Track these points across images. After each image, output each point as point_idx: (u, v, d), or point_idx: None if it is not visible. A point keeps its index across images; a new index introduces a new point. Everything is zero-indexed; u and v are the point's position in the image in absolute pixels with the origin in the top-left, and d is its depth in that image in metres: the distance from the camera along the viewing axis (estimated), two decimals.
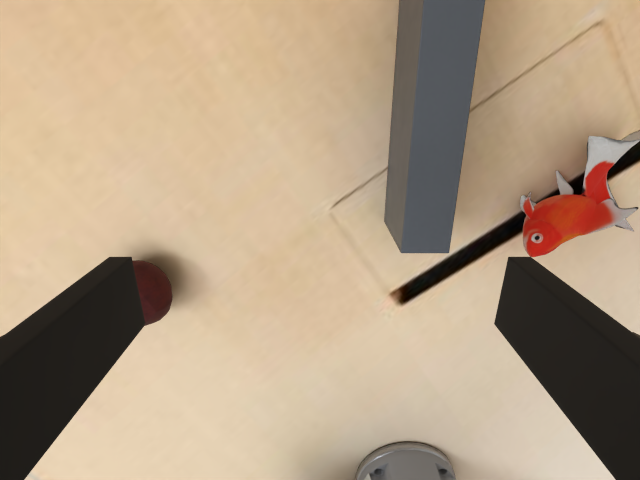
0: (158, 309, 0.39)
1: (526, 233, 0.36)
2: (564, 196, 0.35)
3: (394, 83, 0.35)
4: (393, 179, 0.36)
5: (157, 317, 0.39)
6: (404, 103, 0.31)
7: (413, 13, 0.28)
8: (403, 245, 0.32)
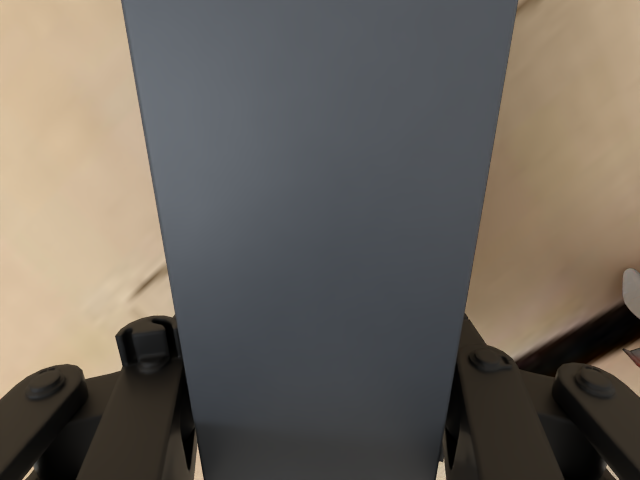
0: None
1: None
2: None
3: None
4: None
5: None
6: None
7: None
8: None
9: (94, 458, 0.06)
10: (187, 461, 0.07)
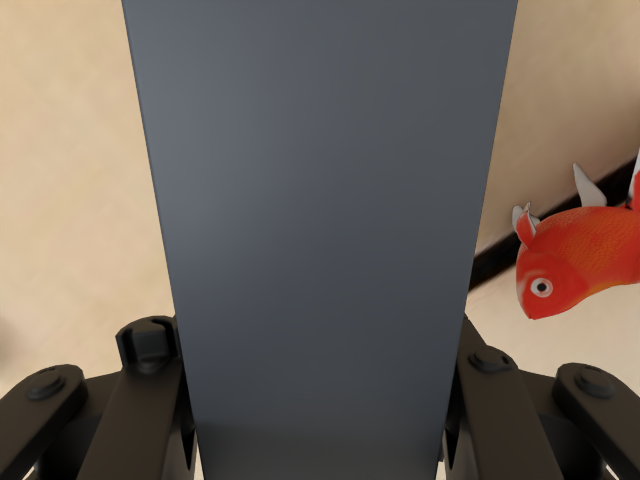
0: None
1: (521, 277, 0.20)
2: (592, 210, 0.19)
3: None
4: None
5: None
6: None
7: None
8: None
9: (94, 458, 0.06)
10: (187, 461, 0.07)
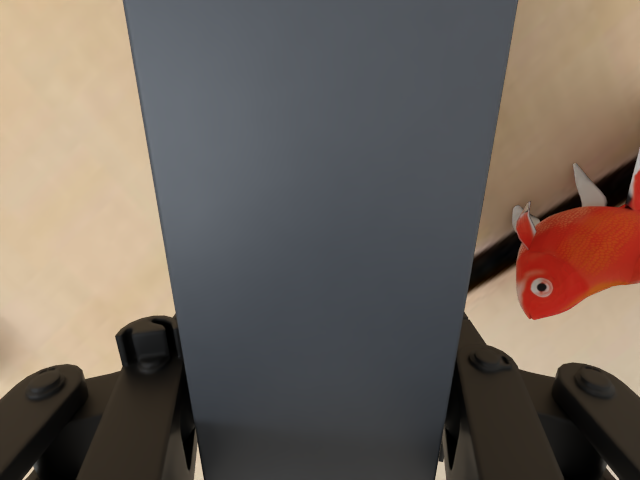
0: None
1: (521, 277, 0.20)
2: (592, 210, 0.19)
3: None
4: None
5: None
6: None
7: None
8: None
9: (94, 458, 0.06)
10: (187, 461, 0.07)
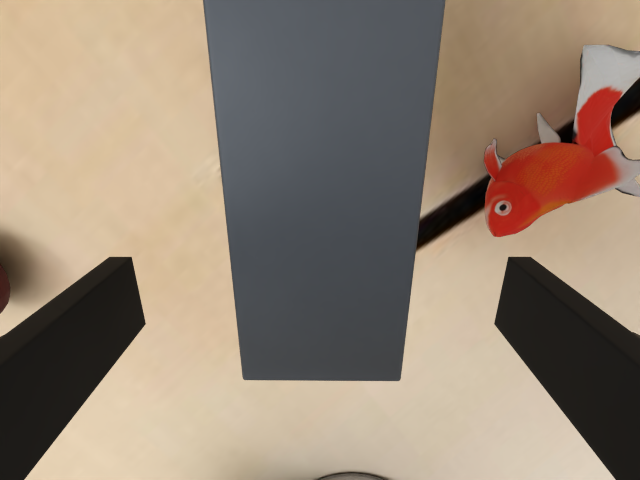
0: None
1: (488, 202, 0.24)
2: (545, 145, 0.23)
3: None
4: None
5: None
6: None
7: None
8: (246, 359, 0.10)
9: None
10: None
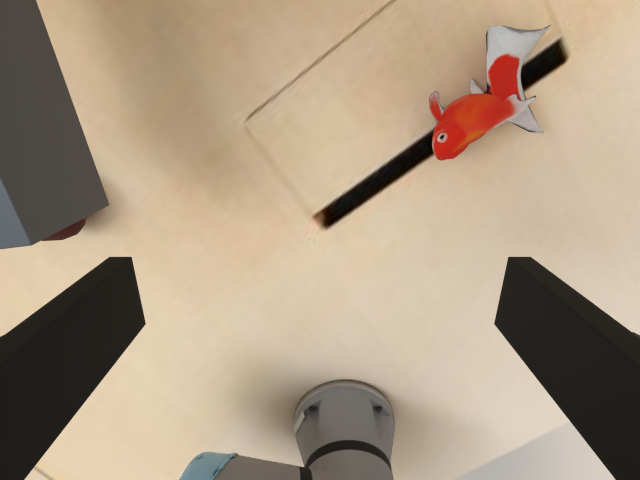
0: None
1: (433, 136, 0.35)
2: (470, 95, 0.34)
3: None
4: None
5: (65, 230, 0.39)
6: None
7: None
8: None
9: None
10: None
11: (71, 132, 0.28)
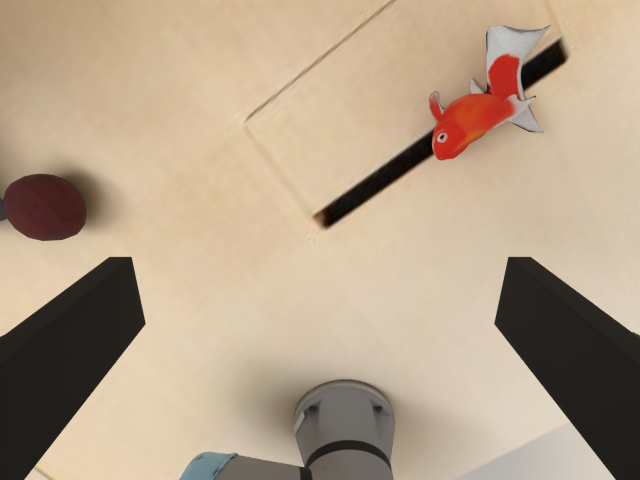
0: (64, 220, 0.38)
1: (433, 136, 0.35)
2: (470, 95, 0.34)
3: None
4: None
5: (65, 230, 0.39)
6: None
7: None
8: None
9: None
10: None
11: None
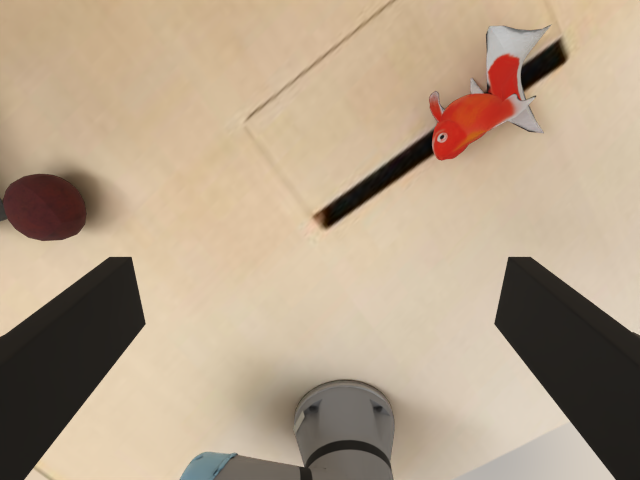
0: (64, 220, 0.38)
1: (433, 136, 0.35)
2: (470, 95, 0.34)
3: None
4: None
5: (65, 230, 0.39)
6: None
7: None
8: None
9: None
10: None
11: None
